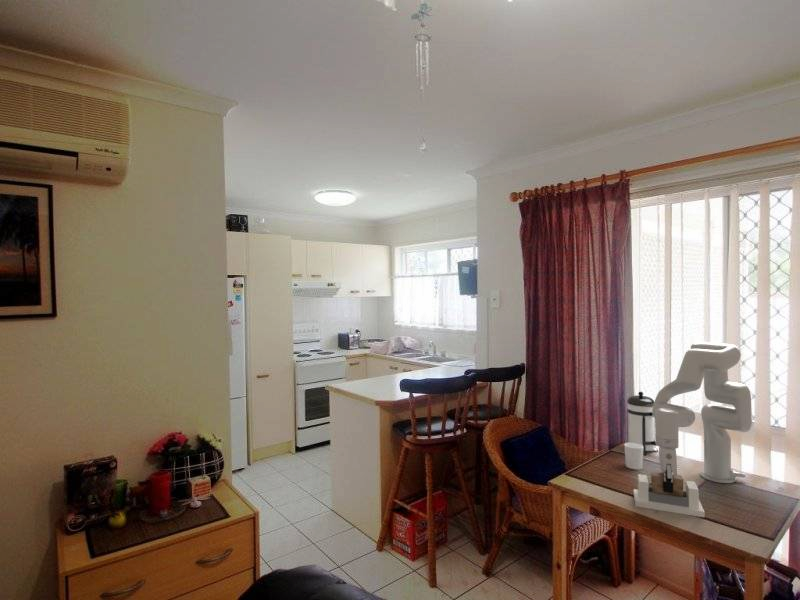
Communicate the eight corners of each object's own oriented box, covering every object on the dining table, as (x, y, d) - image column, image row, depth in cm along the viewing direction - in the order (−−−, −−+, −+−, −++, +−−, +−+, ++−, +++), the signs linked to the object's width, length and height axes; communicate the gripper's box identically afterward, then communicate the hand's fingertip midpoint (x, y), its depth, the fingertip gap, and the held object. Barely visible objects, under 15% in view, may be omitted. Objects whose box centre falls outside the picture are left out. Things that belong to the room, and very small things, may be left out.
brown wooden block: (681, 496, 169) (681, 475, 169) (683, 501, 166) (683, 479, 165) (651, 491, 173) (651, 471, 173) (652, 496, 170) (652, 475, 169)
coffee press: (626, 454, 221) (626, 394, 220) (623, 444, 236) (622, 387, 235) (666, 458, 215) (666, 396, 214) (660, 447, 230) (660, 389, 229)
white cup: (620, 465, 208) (620, 444, 208) (632, 462, 211) (632, 441, 211) (635, 471, 201) (635, 449, 200) (647, 468, 204) (647, 446, 204)
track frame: (698, 503, 170) (698, 480, 170) (704, 517, 160) (704, 492, 160) (633, 493, 179) (633, 471, 179) (635, 506, 169) (635, 482, 169)
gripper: (682, 450, 160) (682, 500, 160) (675, 436, 175) (675, 482, 175) (658, 447, 163) (658, 497, 163) (653, 433, 178) (653, 479, 179)
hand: (667, 488), depth 169 cm, fingers closed on brown wooden block, 4 cm apart
